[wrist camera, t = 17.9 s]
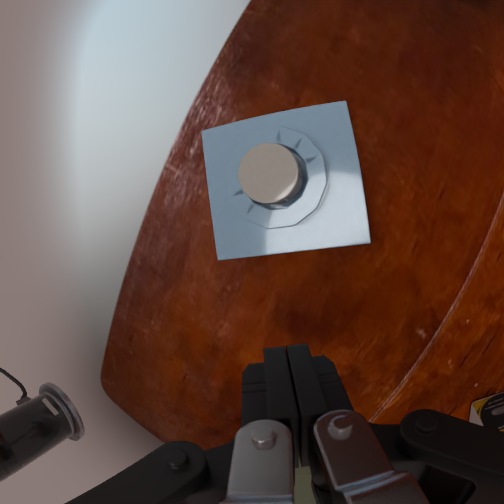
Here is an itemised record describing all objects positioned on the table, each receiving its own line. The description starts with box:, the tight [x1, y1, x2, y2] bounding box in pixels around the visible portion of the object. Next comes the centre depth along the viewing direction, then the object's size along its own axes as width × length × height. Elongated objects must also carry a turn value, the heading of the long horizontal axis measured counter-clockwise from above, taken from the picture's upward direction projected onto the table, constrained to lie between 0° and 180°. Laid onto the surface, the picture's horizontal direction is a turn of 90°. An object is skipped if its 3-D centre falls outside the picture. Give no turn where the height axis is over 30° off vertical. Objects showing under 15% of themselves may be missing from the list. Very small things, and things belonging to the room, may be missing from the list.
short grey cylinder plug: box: [238, 143, 303, 205], centre depth 18 cm, size 4×4×2 cm
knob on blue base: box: [202, 101, 371, 260], centre depth 21 cm, size 11×10×5 cm
